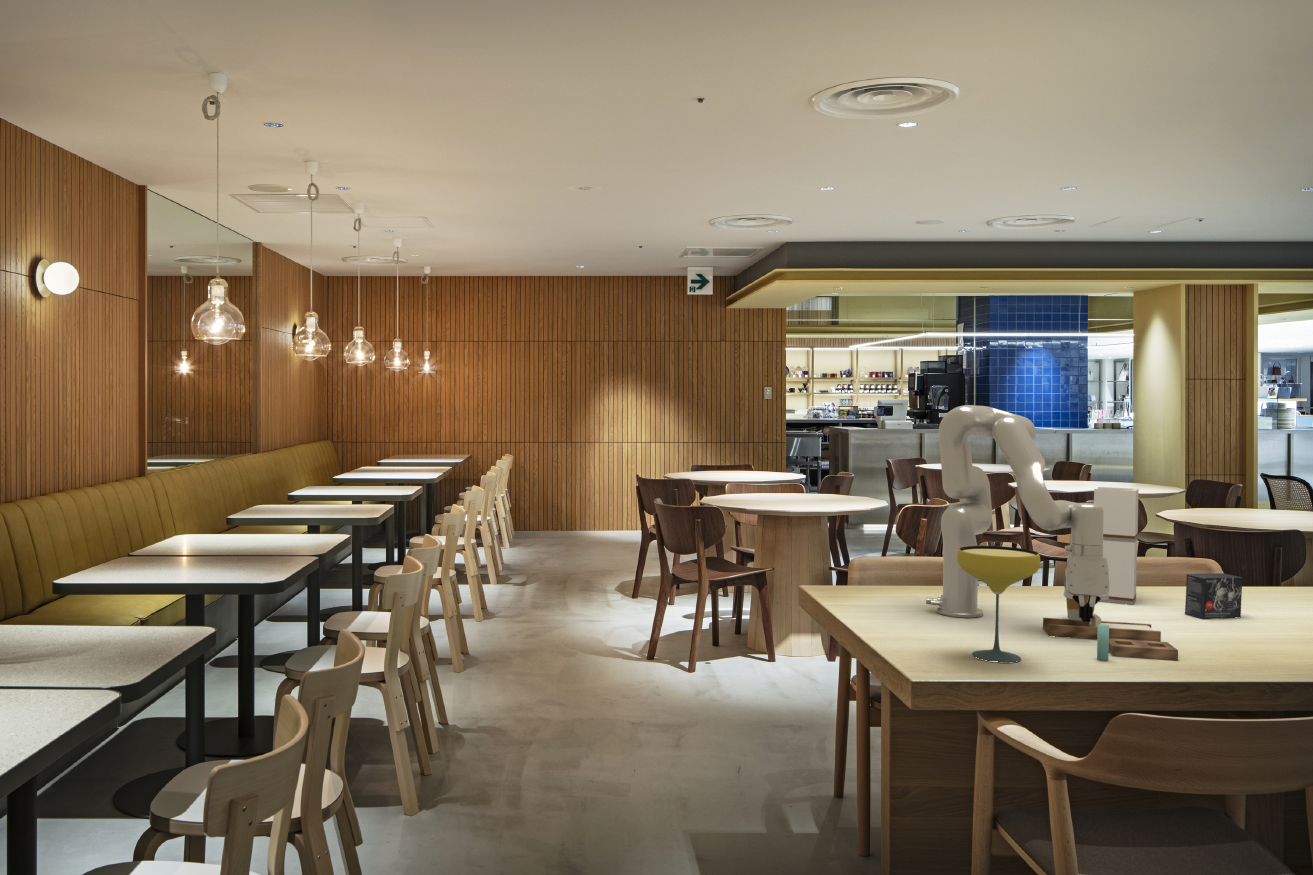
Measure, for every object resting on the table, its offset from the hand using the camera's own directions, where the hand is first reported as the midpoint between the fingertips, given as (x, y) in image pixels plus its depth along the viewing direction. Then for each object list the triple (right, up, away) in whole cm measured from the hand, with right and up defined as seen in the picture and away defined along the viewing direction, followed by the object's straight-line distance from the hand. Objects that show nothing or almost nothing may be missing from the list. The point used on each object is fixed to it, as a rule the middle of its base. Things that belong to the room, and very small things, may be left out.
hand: (1085, 620), depth 231 cm
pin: (-7, -4, -24) cm, 25 cm away
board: (+3, -4, -1) cm, 5 cm away
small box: (+49, -4, +25) cm, 55 cm away
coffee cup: (+7, -4, +17) cm, 19 cm away
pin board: (+4, -4, -18) cm, 19 cm away
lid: (+8, -2, -2) cm, 9 cm away
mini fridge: (+32, -4, +47) cm, 57 cm away
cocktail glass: (-32, -4, -23) cm, 40 cm away
